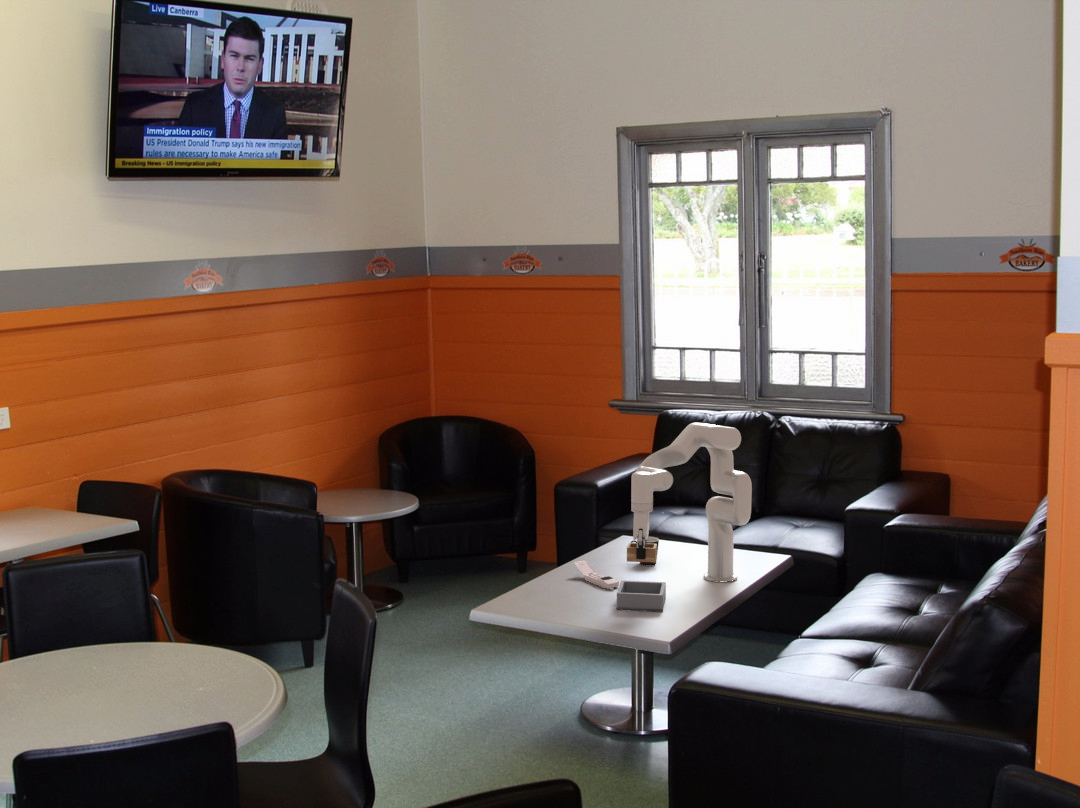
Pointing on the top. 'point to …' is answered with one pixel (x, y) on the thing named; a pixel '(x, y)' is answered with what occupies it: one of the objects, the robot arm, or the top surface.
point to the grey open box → (641, 596)
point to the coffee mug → (653, 541)
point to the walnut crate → (650, 553)
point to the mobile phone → (596, 576)
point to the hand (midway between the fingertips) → (641, 555)
